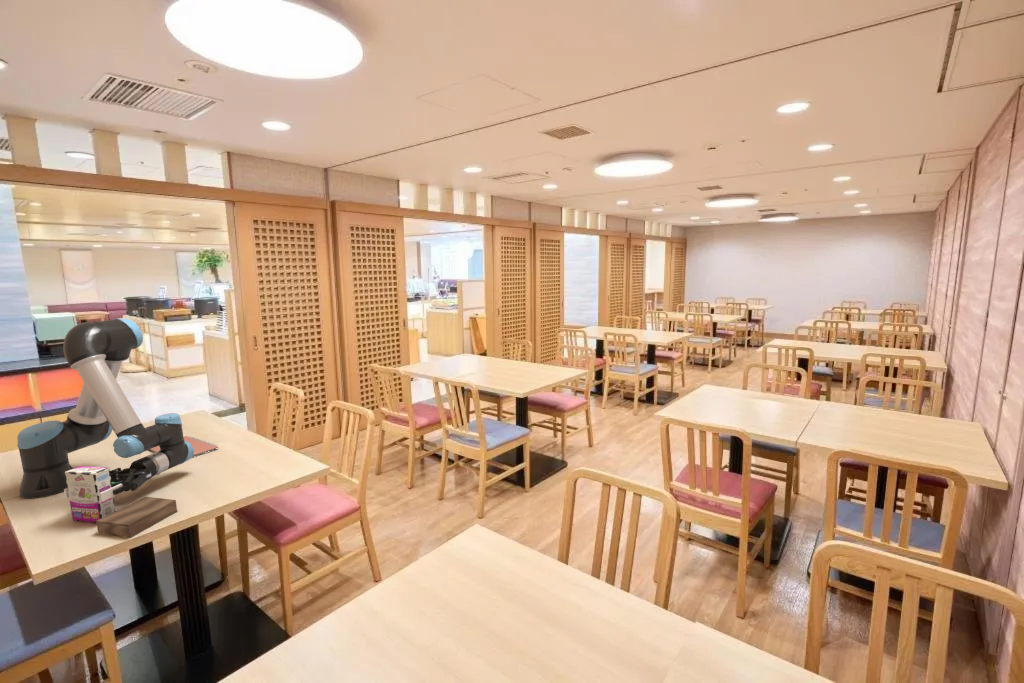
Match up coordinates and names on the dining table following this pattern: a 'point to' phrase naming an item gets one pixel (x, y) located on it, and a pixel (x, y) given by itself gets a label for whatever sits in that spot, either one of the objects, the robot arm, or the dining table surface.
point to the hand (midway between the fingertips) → (82, 495)
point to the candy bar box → (89, 493)
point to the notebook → (194, 446)
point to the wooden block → (136, 517)
